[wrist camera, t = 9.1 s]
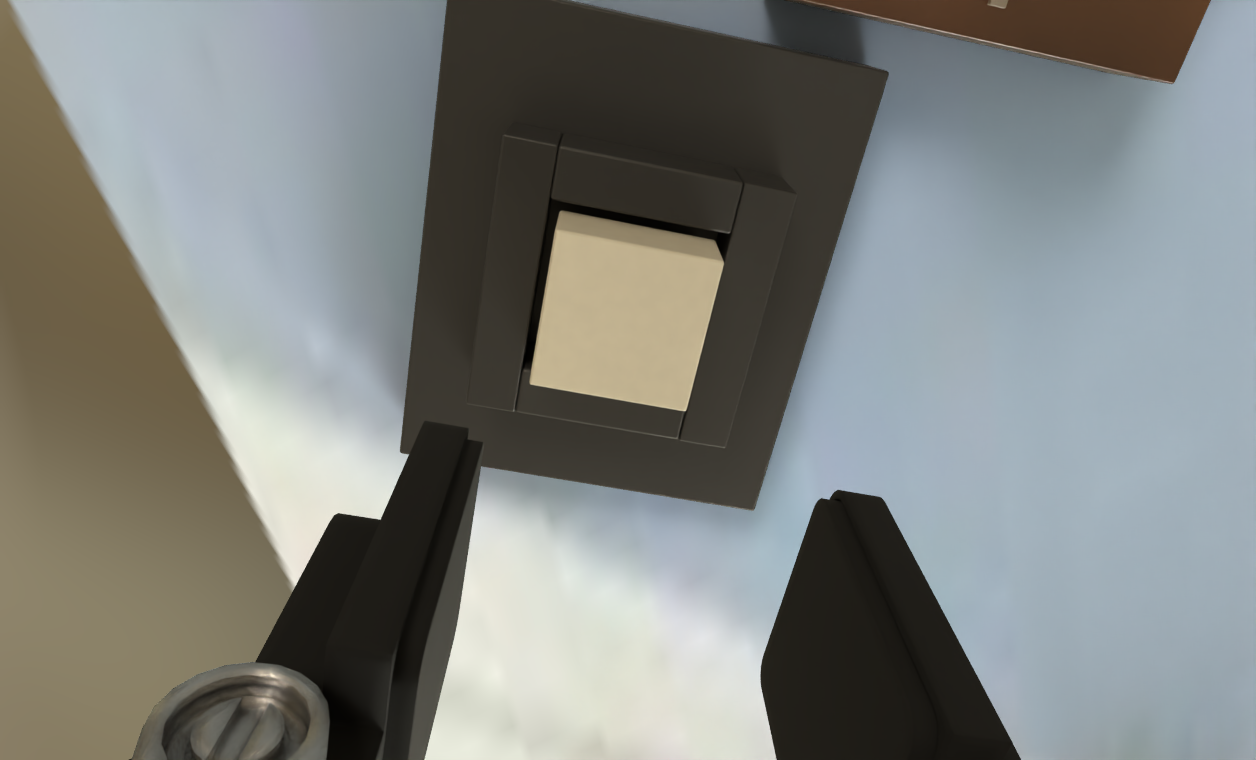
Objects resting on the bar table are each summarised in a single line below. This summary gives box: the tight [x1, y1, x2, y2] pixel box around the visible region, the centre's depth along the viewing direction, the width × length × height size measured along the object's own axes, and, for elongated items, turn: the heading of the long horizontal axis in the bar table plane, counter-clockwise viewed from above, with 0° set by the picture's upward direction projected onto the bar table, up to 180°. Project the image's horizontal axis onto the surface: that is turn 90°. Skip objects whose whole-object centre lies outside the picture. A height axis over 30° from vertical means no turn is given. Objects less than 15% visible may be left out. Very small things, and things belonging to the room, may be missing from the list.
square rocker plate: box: [400, 0, 888, 511], centre depth 21 cm, size 12×10×4 cm
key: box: [529, 210, 724, 411], centre depth 19 cm, size 4×4×2 cm
